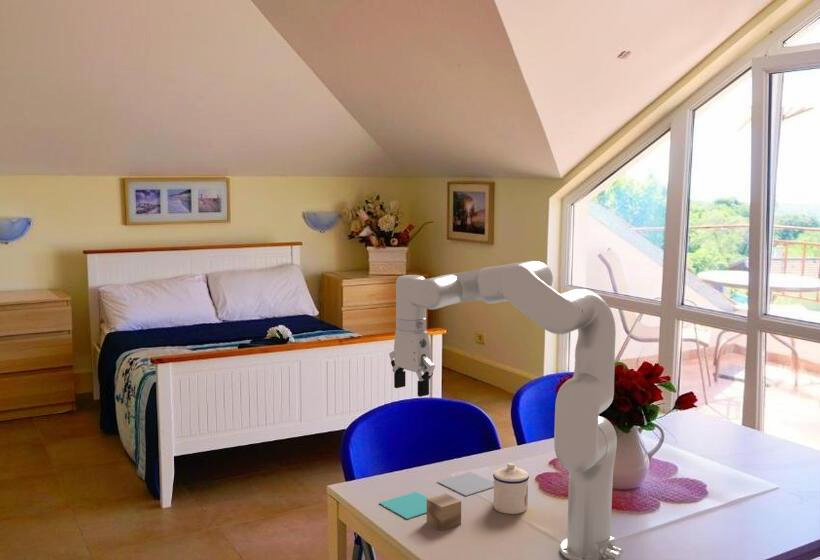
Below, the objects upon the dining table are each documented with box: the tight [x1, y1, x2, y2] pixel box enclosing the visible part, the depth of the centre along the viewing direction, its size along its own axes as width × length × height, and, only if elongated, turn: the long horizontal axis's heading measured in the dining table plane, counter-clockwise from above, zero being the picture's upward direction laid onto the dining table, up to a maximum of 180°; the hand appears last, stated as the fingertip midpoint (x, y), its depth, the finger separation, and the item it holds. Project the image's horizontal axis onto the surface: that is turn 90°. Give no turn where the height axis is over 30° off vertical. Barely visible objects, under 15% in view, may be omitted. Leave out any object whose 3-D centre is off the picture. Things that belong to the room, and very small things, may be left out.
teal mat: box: [378, 491, 430, 520], centre depth 215 cm, size 12×12×1 cm
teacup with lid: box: [492, 462, 530, 515], centre depth 214 cm, size 12×9×12 cm
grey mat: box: [437, 471, 494, 497], centre depth 229 cm, size 12×12×1 cm
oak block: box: [426, 493, 462, 532], centre depth 204 cm, size 6×6×6 cm
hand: (411, 391), depth 210 cm, fingers open, 9 cm apart
